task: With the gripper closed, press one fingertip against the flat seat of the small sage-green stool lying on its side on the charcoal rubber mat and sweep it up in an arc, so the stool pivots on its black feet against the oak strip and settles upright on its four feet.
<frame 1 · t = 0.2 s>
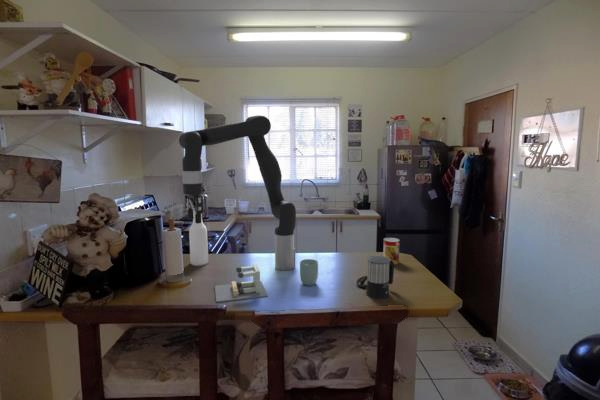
hand: (194, 221, 142), 29 cm above the kitchen counter, tool pointing down, fingers open, 8 cm apart
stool: (247, 279, 144), point 5 cm above the kitchen counter, touching mat
mat: (240, 291, 144), on the kitchen counter
alcohol: (199, 263, 179), on the kitchen counter
cup: (308, 284, 152), on the kitchen counter
milk frother: (371, 291, 145), on the kitchen counter
canned food: (390, 262, 182), on the kitchen counter
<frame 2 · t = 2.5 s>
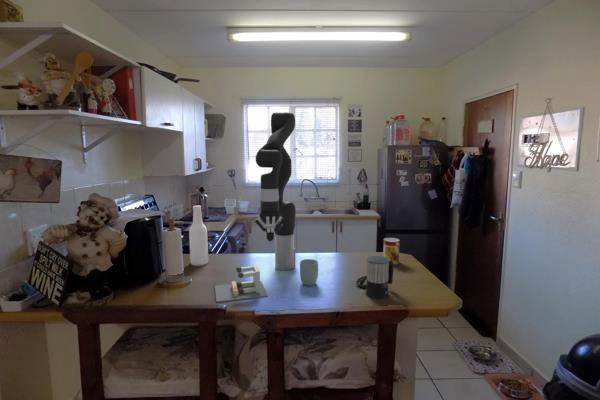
hand: (270, 240, 144), 21 cm above the kitchen counter, tool pointing down, fingers closed
nothing on the kitchen counter moved.
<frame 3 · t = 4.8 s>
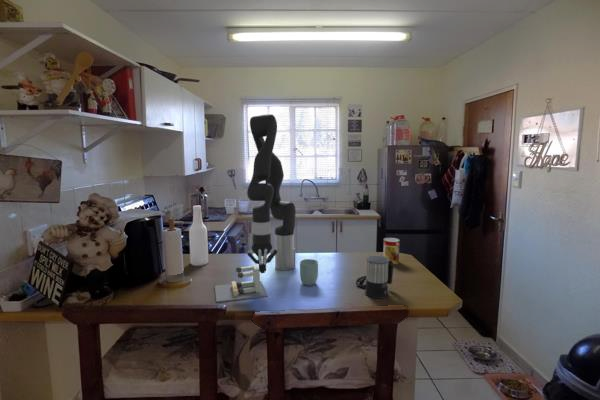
hand: (262, 272, 145), 7 cm above the kitchen counter, tool pointing down, fingers closed
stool: (247, 279, 144), point 5 cm above the kitchen counter, touching gripper, mat
everything else where it was.
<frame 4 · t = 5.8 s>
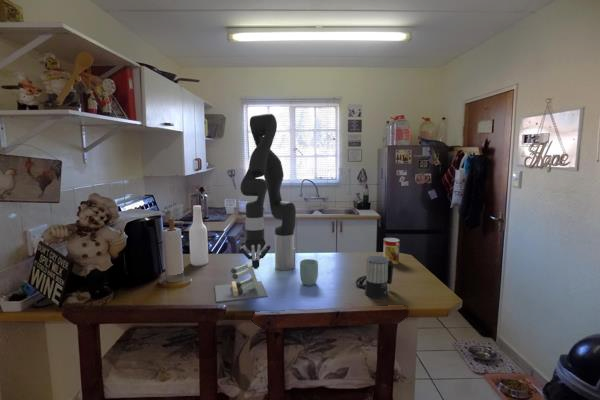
hand: (255, 268, 144), 9 cm above the kitchen counter, tool pointing down, fingers closed
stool: (244, 277, 143), point 6 cm above the kitchen counter, tilted 16°, touching gripper, mat
everything else where it was.
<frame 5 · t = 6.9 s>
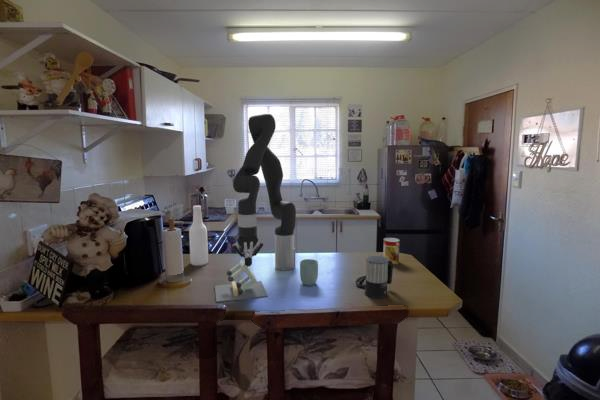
hand: (248, 265, 143), 11 cm above the kitchen counter, tool pointing down, fingers closed
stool: (240, 277, 143), point 6 cm above the kitchen counter, tilted 34°, touching gripper, mat
everything else where it was.
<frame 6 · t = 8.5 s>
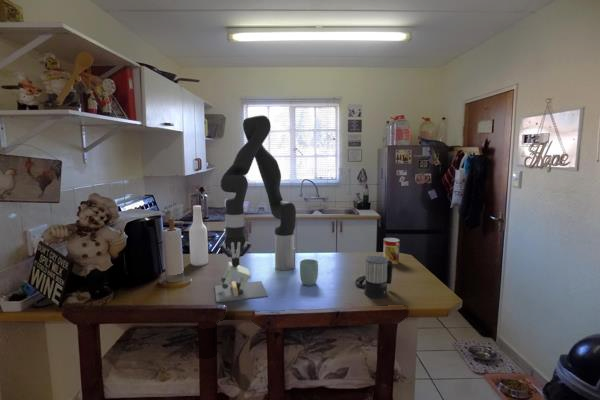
hand: (235, 266, 141), 11 cm above the kitchen counter, tool pointing down, fingers closed
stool: (235, 278, 142), point 6 cm above the kitchen counter, tilted 64°, touching gripper, mat
everything else where it was.
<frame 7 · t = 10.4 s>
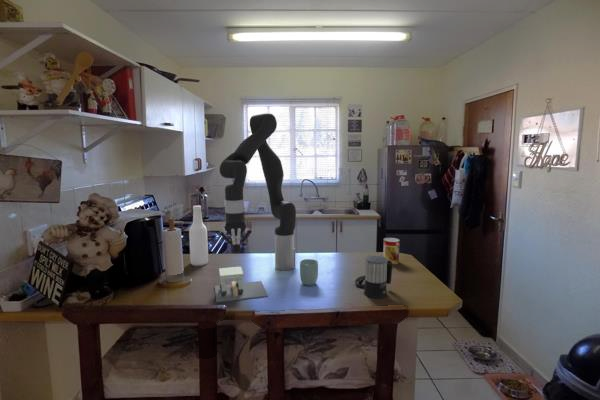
hand: (236, 252, 141), 17 cm above the kitchen counter, tool pointing down, fingers closed
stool: (231, 281, 142), point 5 cm above the kitchen counter, tilted 90°, touching mat
everything else where it was.
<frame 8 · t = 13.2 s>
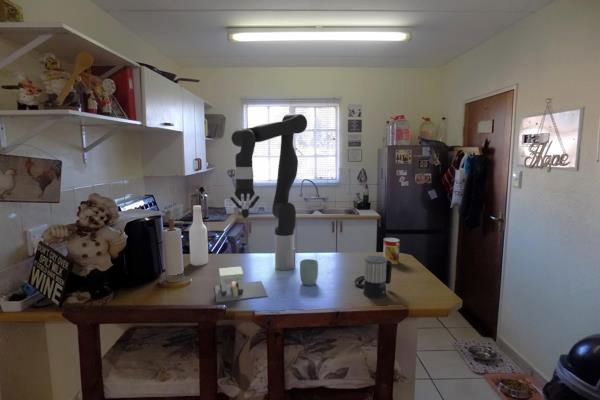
hand: (245, 217, 150), 29 cm above the kitchen counter, tool pointing down, fingers closed
at the end: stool tilted 90°; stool 0.2 cm from the target spot on the mat, point 4.7 cm above the mat's base; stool touching mat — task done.
